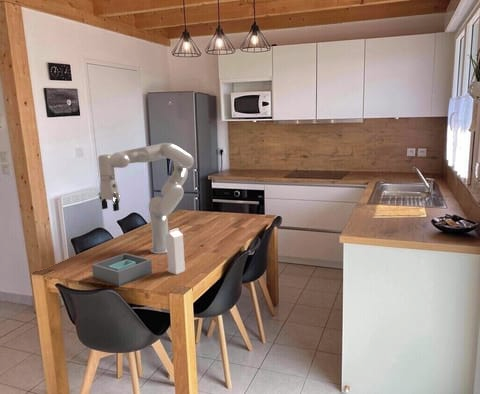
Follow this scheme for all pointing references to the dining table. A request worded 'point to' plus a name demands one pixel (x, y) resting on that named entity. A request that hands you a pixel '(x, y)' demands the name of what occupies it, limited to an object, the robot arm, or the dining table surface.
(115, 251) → the dining table surface
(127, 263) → the small crate
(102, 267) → the large crate
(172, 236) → the milk
